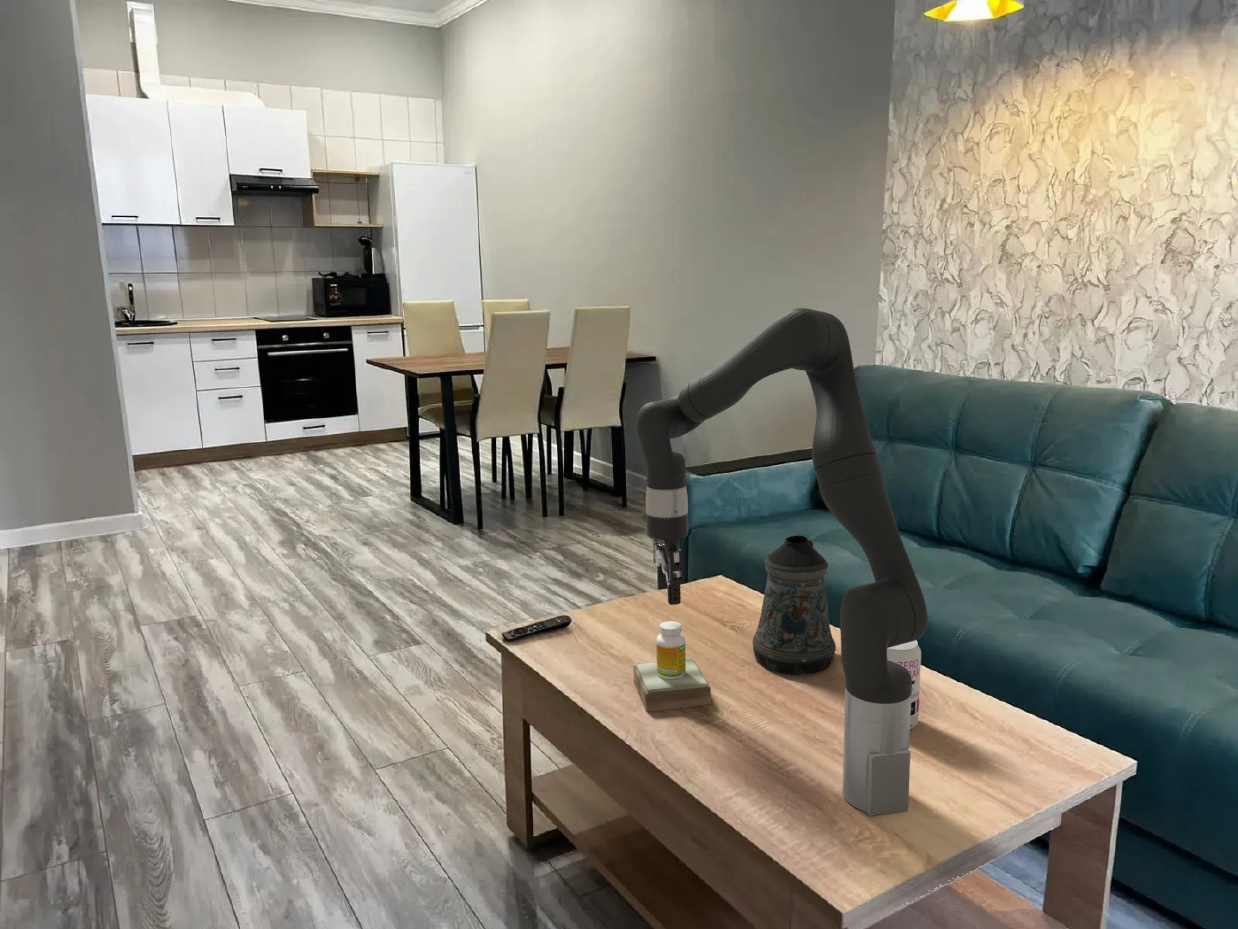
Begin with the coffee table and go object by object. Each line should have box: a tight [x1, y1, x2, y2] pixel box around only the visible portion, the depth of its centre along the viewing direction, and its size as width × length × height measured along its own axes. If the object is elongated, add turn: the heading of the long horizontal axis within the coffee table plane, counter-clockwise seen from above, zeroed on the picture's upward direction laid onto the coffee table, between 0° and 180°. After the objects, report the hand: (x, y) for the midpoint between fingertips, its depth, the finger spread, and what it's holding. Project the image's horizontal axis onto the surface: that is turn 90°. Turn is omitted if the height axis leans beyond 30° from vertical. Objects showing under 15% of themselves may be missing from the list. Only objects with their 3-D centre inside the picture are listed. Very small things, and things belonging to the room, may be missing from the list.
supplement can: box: [887, 640, 922, 731], centre depth 151 cm, size 8×8×15 cm
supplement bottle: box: [655, 620, 687, 679], centre depth 163 cm, size 5×5×10 cm
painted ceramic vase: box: [752, 535, 837, 677], centre depth 177 cm, size 16×19×25 cm
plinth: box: [633, 658, 712, 713], centre depth 165 cm, size 12×12×4 cm
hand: (668, 596), depth 161 cm, fingers open, 8 cm apart
